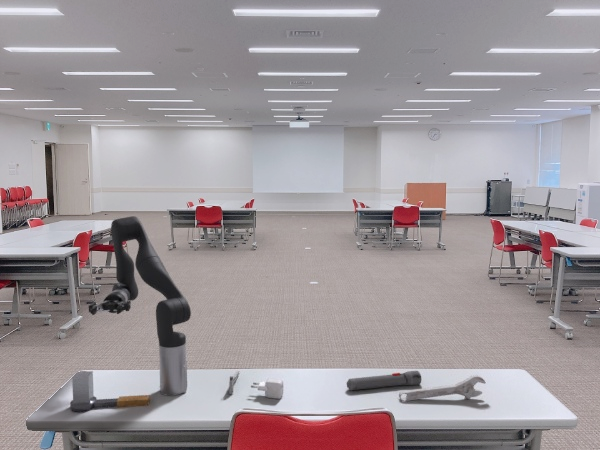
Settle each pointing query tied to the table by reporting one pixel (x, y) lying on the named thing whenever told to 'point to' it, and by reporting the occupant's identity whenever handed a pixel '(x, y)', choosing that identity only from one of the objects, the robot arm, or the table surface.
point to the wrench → (446, 390)
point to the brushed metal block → (82, 388)
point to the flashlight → (385, 380)
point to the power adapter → (271, 388)
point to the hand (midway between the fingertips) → (105, 311)
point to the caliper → (232, 382)
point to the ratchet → (112, 403)
